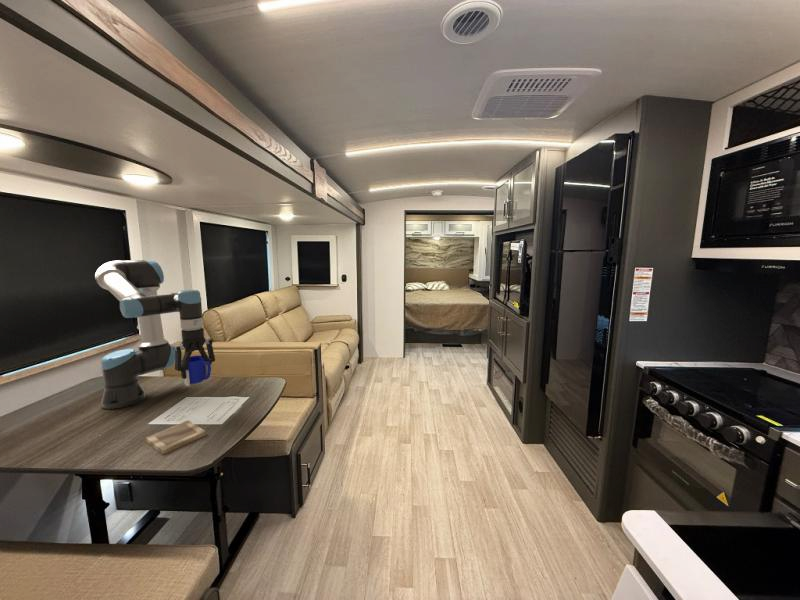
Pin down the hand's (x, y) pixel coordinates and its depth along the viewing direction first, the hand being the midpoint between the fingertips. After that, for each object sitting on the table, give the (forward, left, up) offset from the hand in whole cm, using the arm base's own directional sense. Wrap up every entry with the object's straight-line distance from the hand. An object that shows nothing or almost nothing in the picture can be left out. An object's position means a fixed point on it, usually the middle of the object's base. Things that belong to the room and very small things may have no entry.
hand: (197, 382), depth 129 cm
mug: (0, +1, -1) cm, 1 cm away
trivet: (+10, -13, -15) cm, 22 cm away
